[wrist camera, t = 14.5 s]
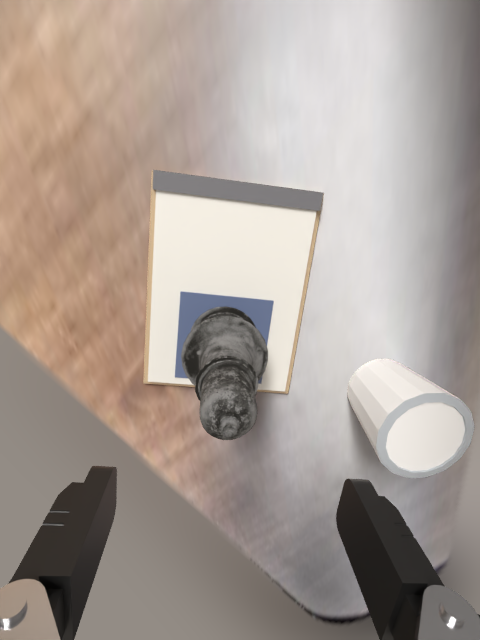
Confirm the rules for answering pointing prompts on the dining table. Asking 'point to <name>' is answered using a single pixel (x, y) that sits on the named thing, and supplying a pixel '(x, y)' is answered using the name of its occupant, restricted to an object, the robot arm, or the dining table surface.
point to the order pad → (226, 266)
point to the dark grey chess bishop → (225, 370)
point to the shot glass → (409, 419)
